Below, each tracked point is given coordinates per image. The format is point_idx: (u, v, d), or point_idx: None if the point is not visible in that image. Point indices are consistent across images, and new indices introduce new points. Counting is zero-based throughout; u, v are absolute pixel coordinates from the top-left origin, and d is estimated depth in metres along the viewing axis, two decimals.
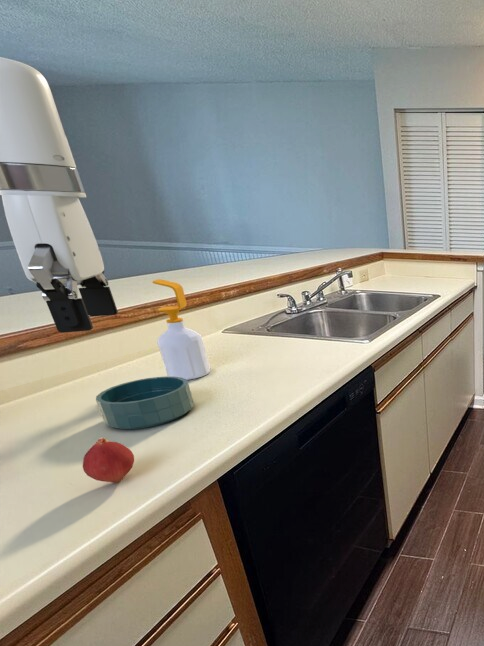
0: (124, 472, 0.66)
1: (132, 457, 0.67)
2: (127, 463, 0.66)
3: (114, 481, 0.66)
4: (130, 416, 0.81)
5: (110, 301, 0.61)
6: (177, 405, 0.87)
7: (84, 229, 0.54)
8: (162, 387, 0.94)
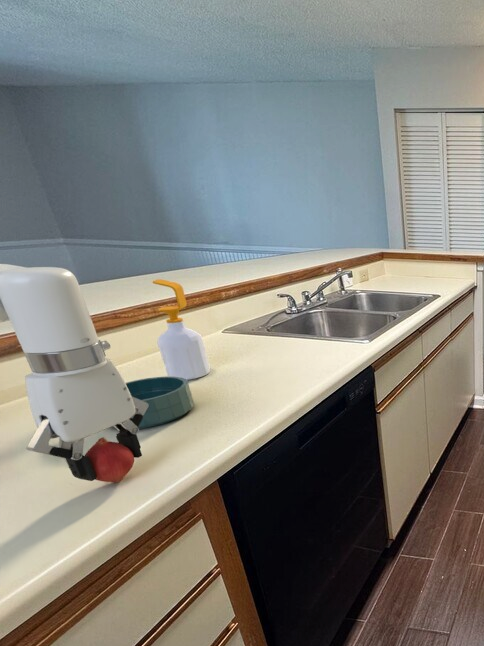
0: (124, 472, 0.66)
1: (132, 457, 0.67)
2: (127, 463, 0.66)
3: (114, 481, 0.66)
4: None
5: (133, 447, 0.68)
6: (177, 405, 0.87)
7: (98, 392, 0.61)
8: (162, 387, 0.94)
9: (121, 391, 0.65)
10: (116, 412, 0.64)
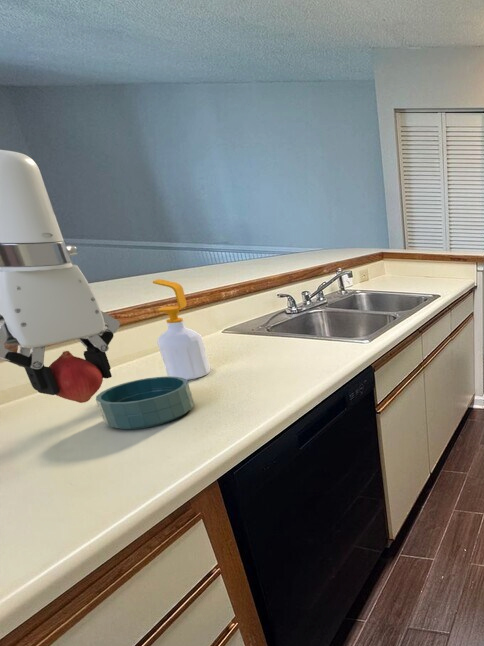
0: (90, 390, 0.61)
1: (100, 376, 0.62)
2: (94, 381, 0.61)
3: (80, 400, 0.61)
4: (130, 416, 0.81)
5: (102, 366, 0.63)
6: (177, 405, 0.87)
7: (61, 297, 0.57)
8: (162, 387, 0.94)
9: (88, 301, 0.60)
10: (82, 323, 0.59)
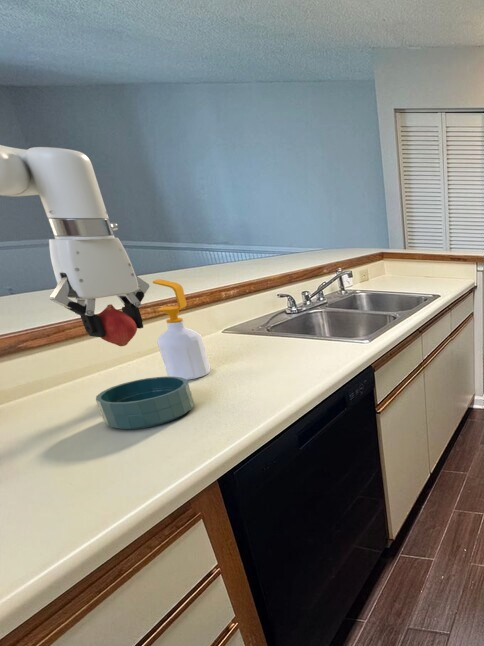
0: (128, 335, 0.79)
1: (135, 325, 0.80)
2: (131, 328, 0.79)
3: (120, 344, 0.79)
4: (130, 416, 0.81)
5: (136, 318, 0.81)
6: (177, 405, 0.87)
7: (107, 261, 0.74)
8: (162, 387, 0.94)
9: (126, 266, 0.77)
10: (122, 283, 0.77)
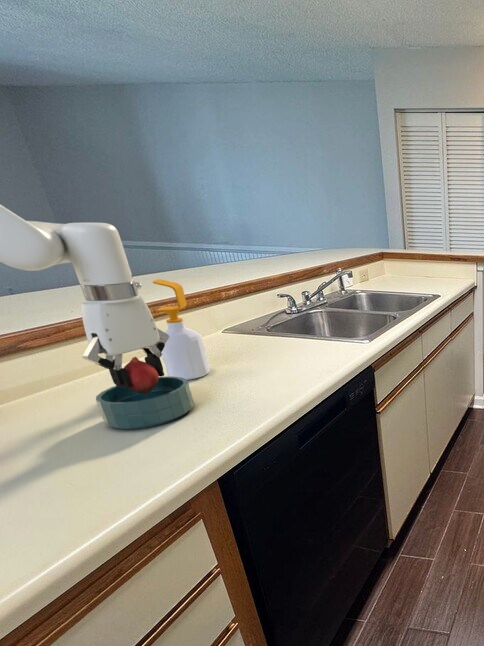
0: (151, 384, 0.86)
1: (157, 374, 0.87)
2: (154, 378, 0.86)
3: (144, 392, 0.86)
4: (130, 416, 0.81)
5: (158, 367, 0.88)
6: (177, 405, 0.87)
7: (133, 320, 0.81)
8: (162, 387, 0.94)
9: (149, 321, 0.84)
10: (145, 337, 0.84)
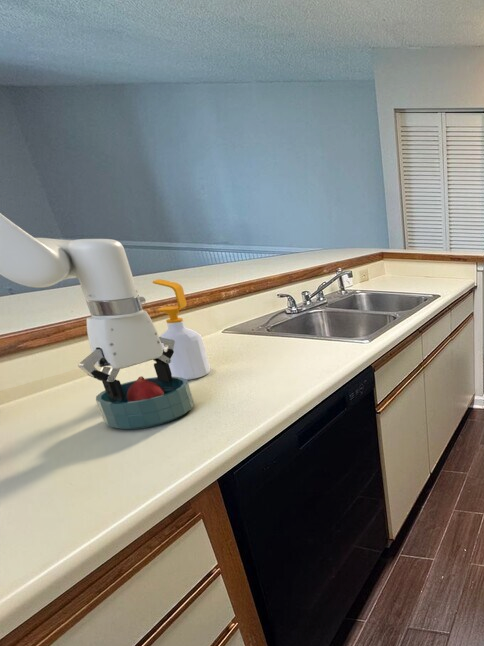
0: None
1: (163, 393, 0.89)
2: None
3: None
4: (130, 416, 0.81)
5: (167, 374, 0.90)
6: (177, 405, 0.87)
7: (137, 334, 0.82)
8: (162, 387, 0.94)
9: (153, 335, 0.85)
10: (149, 351, 0.85)
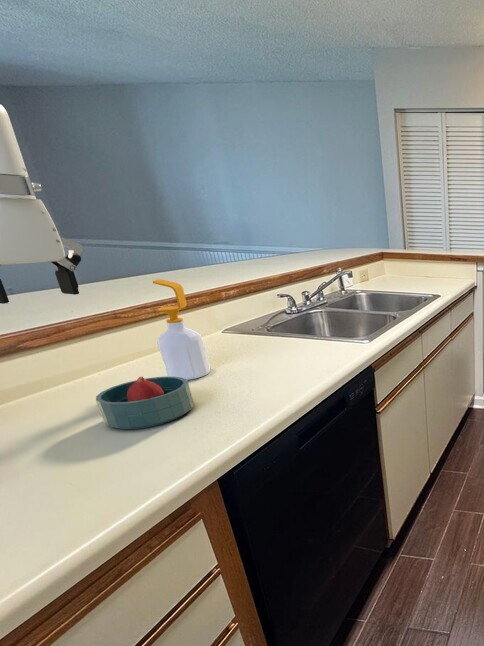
0: None
1: (163, 393, 0.89)
2: None
3: None
4: (130, 416, 0.81)
5: (71, 283, 0.75)
6: (177, 405, 0.87)
7: (26, 224, 0.67)
8: (162, 387, 0.94)
9: (50, 231, 0.71)
10: (44, 249, 0.70)
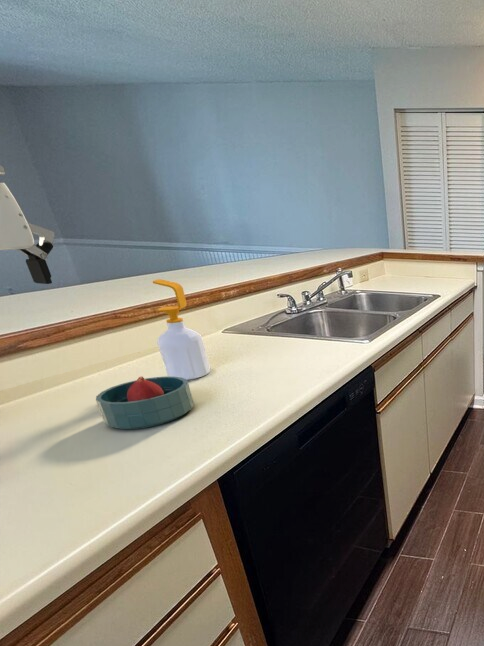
0: None
1: (163, 393, 0.89)
2: None
3: None
4: (130, 416, 0.81)
5: (42, 272, 0.71)
6: (177, 405, 0.87)
7: None
8: (162, 387, 0.94)
9: (16, 216, 0.67)
10: (11, 235, 0.67)
